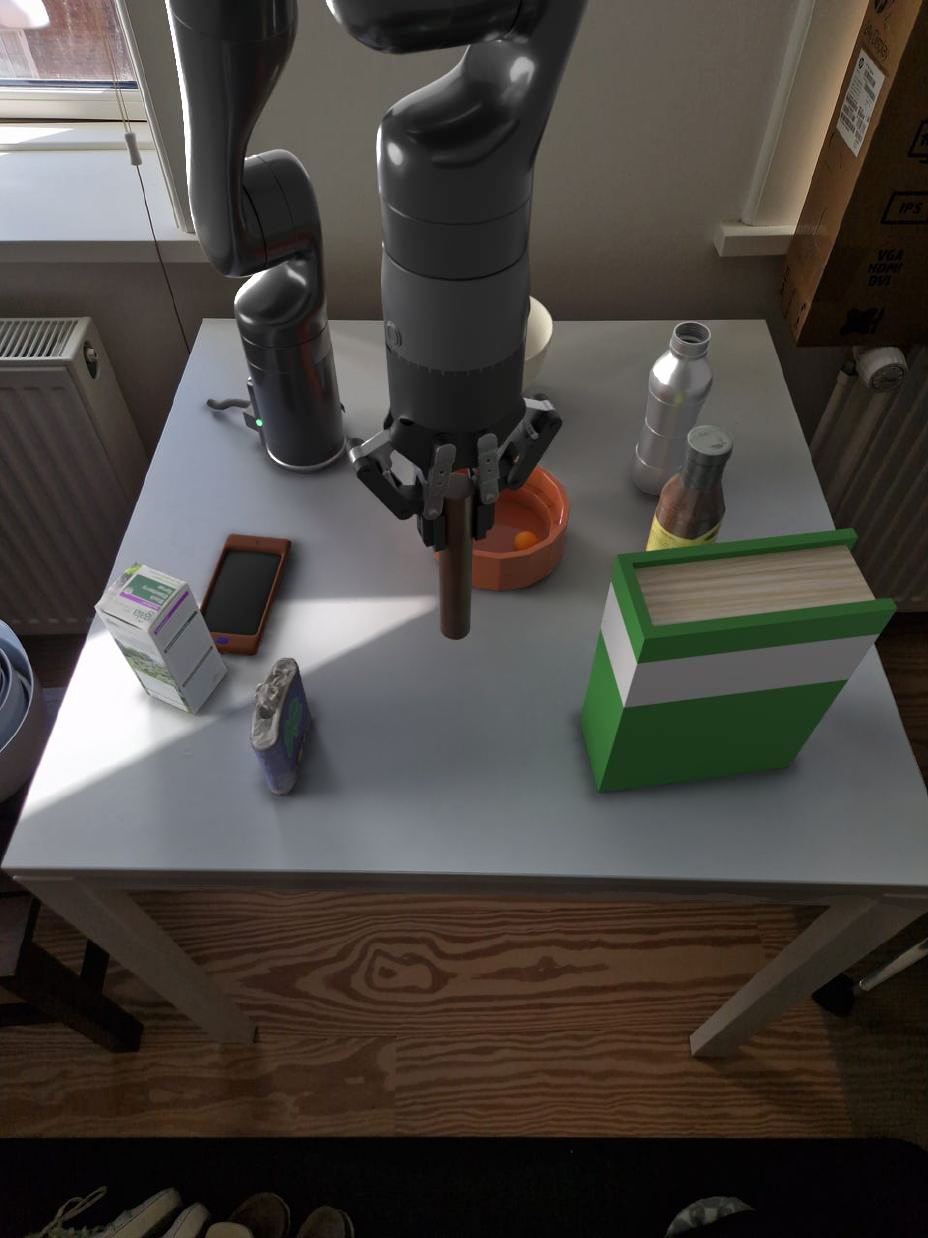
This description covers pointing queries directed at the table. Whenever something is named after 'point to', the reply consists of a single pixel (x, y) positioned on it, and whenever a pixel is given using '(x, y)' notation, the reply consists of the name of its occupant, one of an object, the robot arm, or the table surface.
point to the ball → (525, 541)
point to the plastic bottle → (672, 407)
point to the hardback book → (724, 656)
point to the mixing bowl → (515, 512)
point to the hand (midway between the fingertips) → (455, 535)
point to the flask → (280, 725)
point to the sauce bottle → (693, 493)
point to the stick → (457, 558)
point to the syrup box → (162, 636)
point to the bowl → (536, 341)
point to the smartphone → (243, 591)
